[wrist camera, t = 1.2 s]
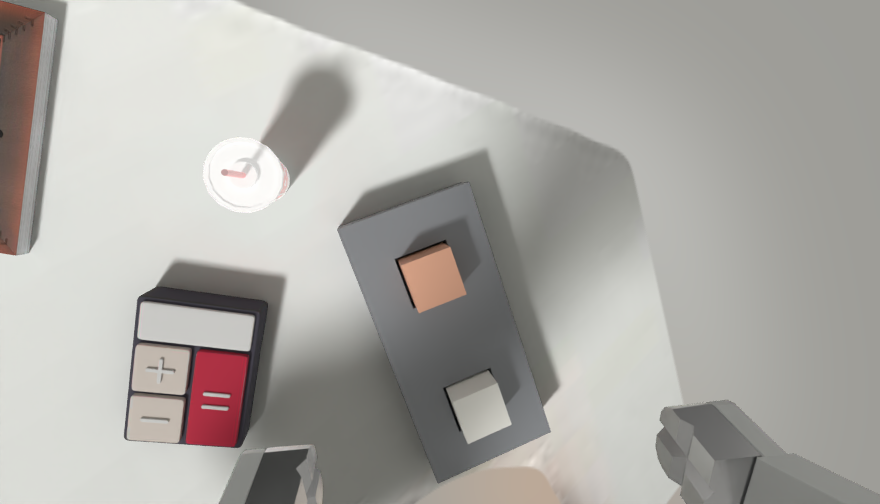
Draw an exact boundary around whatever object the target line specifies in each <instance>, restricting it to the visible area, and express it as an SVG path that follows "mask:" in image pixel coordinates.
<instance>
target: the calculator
mask: <svg viewBox="0 0 880 504" xmlns="http://www.w3.org/2000/svg"><path fill="white" fill-rule="evenodd" d="M267 308H268V304H267V302H266V301H262V300H254V299H247V298H240V297H232V296H225V295H218V294H210V293H203V292H196V291H188V290H181V289H173V288H166V287H155V288H154V289H152V290H150V291H148V292H146V293H145V294H143V295H141V296H140V297H139V298H138V300H137V310H136V320H135V330H134V340H133V350H132V360H131V370H130V380H129V390H128V400H127V411H126V421H125V431H124V438H125V439H126V440H129V441H143V442H158V443H173V444H187V445H202V446H217V447H231V448H239V447H241V446H242V444H243V441H244V439H245V437H246V435H247V432H248V430H249V424H250V417H251V411H252V404H253V398H254V391H255V384H256V377H257V370H258V364H259V357H260V350H261V344H262V340H263V334H264V327H265V321H266V315H267Z"/></svg>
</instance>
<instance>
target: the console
mask: <svg viewBox="0 0 880 504" xmlns="http://www.w3.org/2000/svg"><path fill="white" fill-rule="evenodd" d="M337 231H338V233H339V236H340V238H341V241H342V243H343V246H344V248H345V251H346V253H347V256H348V258H349V261H350V263H351V266H352V268H353V271H354V273H355V276H356V278H357V281H358V283H359V286H360V289H361V291H362V294H363V296H364V299H365V301H366V304H367V306H368V309H369V311H370V314H371V316H372V319H373V321H374V324H375V326H376V329H377V331H378V334H379V336H380V339H381V341H382V344H383V346H384V349H385V351H386V354H387V356H388V359H389V362H390V364H391V367H392V369H393V372H394V374H395V377H396V379H397V382H398V384H399V387H400V389H401V392H402V394H403V397H404V399H405V402H406V404H407V407H408V409H409V412H410V414H411V417H412V419H413V422H414V424H415V427H416V430H417V432H418V435H419V437H420V440H421V442H422V445H423V447H424V450H425V452H426V455H427V457H428V460H429V462H430V465H431V467H432V470H433V472H434V475H435V477H436V480H437V482H438V483H440V482H442V481H445V480H447V479H449V478H451V477H453V476H455V475H458V474H460V473H462V472H464V471H466V470H469V469H471V468H473V467H475V466H477V465H480V464H482V463H484V462H486V461H488V460H491V459H493V458H495V457H497V456H499V455H501V454H504V453H506V452H508V451H510V450H512V449H515V448H517V447H519V446H521V445H523V444H526V443H528V442H530V441H532V440H534V439H537V438H539V437H541V436H543V435H545V434H547V433H550V432H551V431H550V428H549V425H548V421H547V418H546V415H545V412H544V409H543V406H542V403H541V400H540V397H539V394H538V391H537V388H536V385H535V382H534V379H533V376H532V373H531V370H530V366H529V363H528V360H527V357H526V354H525V351H524V348H523V345H522V342H521V339H520V336H519V333H518V330H517V327H516V324H515V321H514V318H513V315H512V311H511V308H510V305H509V302H508V299H507V296H506V293H505V290H504V287H503V284H502V281H501V278H500V275H499V272H498V269H497V266H496V263H495V259H494V256H493V253H492V250H491V247H490V244H489V241H488V238H487V235H486V232H485V229H484V226H483V223H482V220H481V217H480V214H479V211H478V208H477V204H476V201H475V198H474V195H473V192H472V189H471V186H470V183H469V182H464V183H459V184H456V185H453V186H450V187H447V188H445V189H442V190H439V191H436V192H434V193H431V194H428V195H425V196H422V197H420V198H417V199H414V200H411V201H409V202H406V203H403V204H400V205H397V206H395V207H392V208H389V209H386V210H384V211H381V212H378V213H375V214H373V215H370V216H367V217H364V218H361V219H359V220H356V221H353V222H350V223H348V224H345V225H342V226H339V227H338V229H337ZM441 242H443V243H444V244H446V245H448V246H450V247H451V250H452V253H453V256H454V259H455V262H456V265H457V268H458V271H459V273H460V276H461V279H462V282H463V285H464V288H465V291H466V295H464V296H461V297H459V298H456V299H454V300H451V301H449V302H446V303H444V304H441V305H439V306H436V307H434V308H431V309H429V310H426V311H423V312H421V313H419V312H418V310H417V308H416V306H415V304H414V302H413V300H412V297H411V294H410V292H409V289H408V286H407V284H406V281H405V278H404V276H403V273H402V270H401V267H400V265H399V262H398V259H399V258H402V257H404V256H407V255H410V254H412V253H415V252H418V251H420V250H423V249H426V248H428V247H431V246H434V245H436V244H439V243H441ZM486 369H487V370H488V371H489V372H490V374H491V375H492V376H493V378H494V379H495V380H496V382H497V383H498V386H499V389H500V392H501V395H502V398H503V401H504V403H505V406H506V409H507V412H508V415H509V418H510V421H511V424H512V425H510V426H508V427H505V428H503V429H501V430H499V431H496V432H494V433H492V434H490V435H487V436H485V437H483V438H481V439H479V440H476V441H474V442H472V443H470V444H468V443H467V441H466V439H465V437H464V434H463V432H462V430H461V427H460V425H459V423H458V420H457V417H456V415H455V412H454V409H453V407H452V404H451V401H450V399H449V396H448V393H447V391H446V388H445V387H446V386H449V385H451V384H453V383H456V382H458V381H460V380H463V379H465V378H467V377H470V376H472V375H474V374H477V373H479V372H481V371H484V370H486Z"/></svg>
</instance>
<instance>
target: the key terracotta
mask: <svg viewBox="0 0 880 504" xmlns="http://www.w3.org/2000/svg"><path fill="white" fill-rule="evenodd" d="M398 262H399V265H400V267H401V270H402V273H403V276H404V278H405V281H406V284H407V286H408V289H409V292H410V294H411V297H412V300H413V302H414V304H415V306H416V308H417V310H418V312H419V313H421V312H423V311H426V310H429V309H431V308H434V307H436V306H439V305H441V304H444V303H446V302H449V301H451V300H454V299H456V298H459V297H461V296H464V295H466V291H465V288H464V285H463V282H462V279H461V276H460V273H459V271H458V268H457V265H456V262H455V259H454V256H453V253H452V250H451V247H450V246H448V245H446V244H444V243H443V242H441V243H439V244H436V245H434V246H431V247H428V248H426V249H423V250H420V251H418V252H415V253H412V254H410V255H407V256H404V257H402V258H399V259H398Z"/></svg>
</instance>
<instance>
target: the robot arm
mask: <svg viewBox="0 0 880 504" xmlns="http://www.w3.org/2000/svg"><path fill="white" fill-rule="evenodd" d="M660 422H661V423H662V424H663V426H664V428H663V429H662V430H661V431H660V432H659V433H658V434H657V437H656V445H655V446H656V451H657V456H658V460H659V462H660V464H661V467H662V469H663V470H664V472H665V473H666V475H667V476H668V478H670V479H671V480H673V481H674V482H676V483H678V484H679V485H681V492H680V496H681V497H682V499H683V500H684V502H685V503H686V504H880V494H877V493H875V492H873V491H871V490H869V489H867V488H865V487H863V486H861V485H859V484H857V483H855V482H852V481H850V480H848V479H846V478H844V477H842V476H840V475H838V474H836V473H834V472H831V471H830V470H828V469H825V468H823V467H821V466H819V465H817V464H815V463H813V462H811V461H809V460H807V459H804V458H802V457H800V456H798V455H796V454H794V453H793V454H787V453H786V452H785V451H783V449H781V448H780V447H779V446H778V445H777V444H776V443H775V442H774V441H773V440H772V439H771V438H770V437H769V436H768V435H767V434H766V433H765V432H764V431H763V430H762V429H761V428H760V427H759V426H758V425H757V424H756V423H755V422H753V421H752V420H751V419H750V418H749V417H748V416H747V415H746V414H745V413H744V412H743V411H742V410H741V409H740V408H739V407H738V406H737V405H736V404H735V403H733V402H731V401H729V400H722V401H713V402H706V403H696V404H687V405H678V406H670V407H664V409H663V410H662V411H661V415H660ZM316 460H317V453H316V449H315V445H312V444H308V445H295V446H282V447H269V448H263V449H250V450H245V451H244V452H243V453H242V454H241V455H240V456H239V458H238V461H237V463H236V465H235V467H234V470H233V472H232V474H231V477H230V479H229V481H228V483H227V486H226V488H225V490H224V492H223V495H222V497H221V499H220V501H219V504H322V500H323V483H322V476H321V471H320V470H319V469H317V468H316V467H315V465H316Z"/></svg>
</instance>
